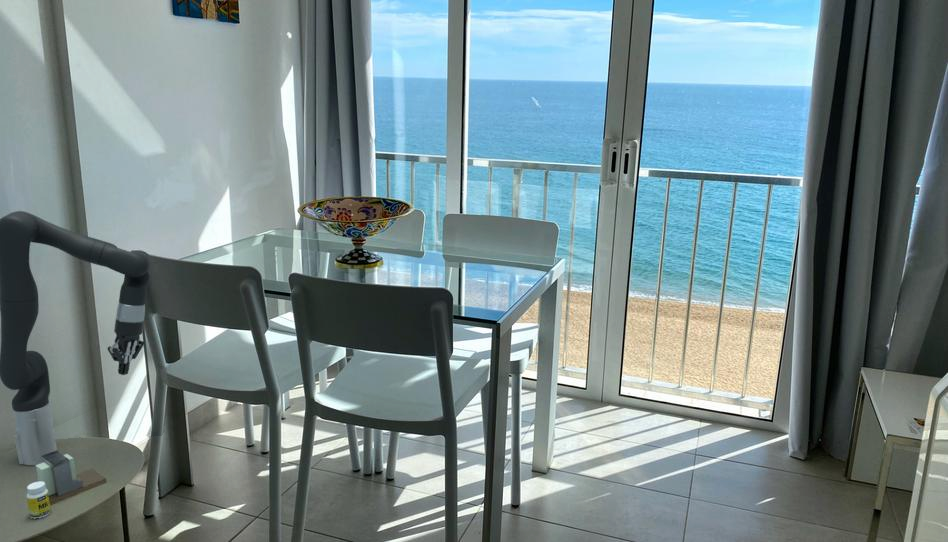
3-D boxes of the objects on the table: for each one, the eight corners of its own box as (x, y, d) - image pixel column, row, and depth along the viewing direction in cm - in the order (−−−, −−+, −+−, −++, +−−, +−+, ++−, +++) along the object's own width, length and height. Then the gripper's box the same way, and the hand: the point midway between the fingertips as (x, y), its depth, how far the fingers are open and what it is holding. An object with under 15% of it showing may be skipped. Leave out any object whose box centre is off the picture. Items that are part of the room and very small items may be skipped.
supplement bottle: (41, 520, 181) (36, 491, 179) (25, 518, 182) (20, 489, 180) (55, 510, 185) (50, 481, 183) (40, 508, 186) (35, 479, 184)
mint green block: (71, 479, 197) (67, 453, 196) (77, 484, 195) (73, 458, 193) (40, 492, 191) (35, 465, 189) (46, 496, 189) (41, 469, 187)
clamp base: (92, 472, 204) (87, 439, 202) (106, 482, 199) (101, 448, 196) (35, 494, 193) (29, 459, 190) (48, 505, 187) (42, 469, 185)
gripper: (135, 312, 215) (128, 366, 217) (102, 318, 202) (95, 375, 204) (156, 317, 213) (149, 372, 215) (124, 324, 200) (116, 382, 203)
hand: (122, 374), depth 210 cm, fingers closed
